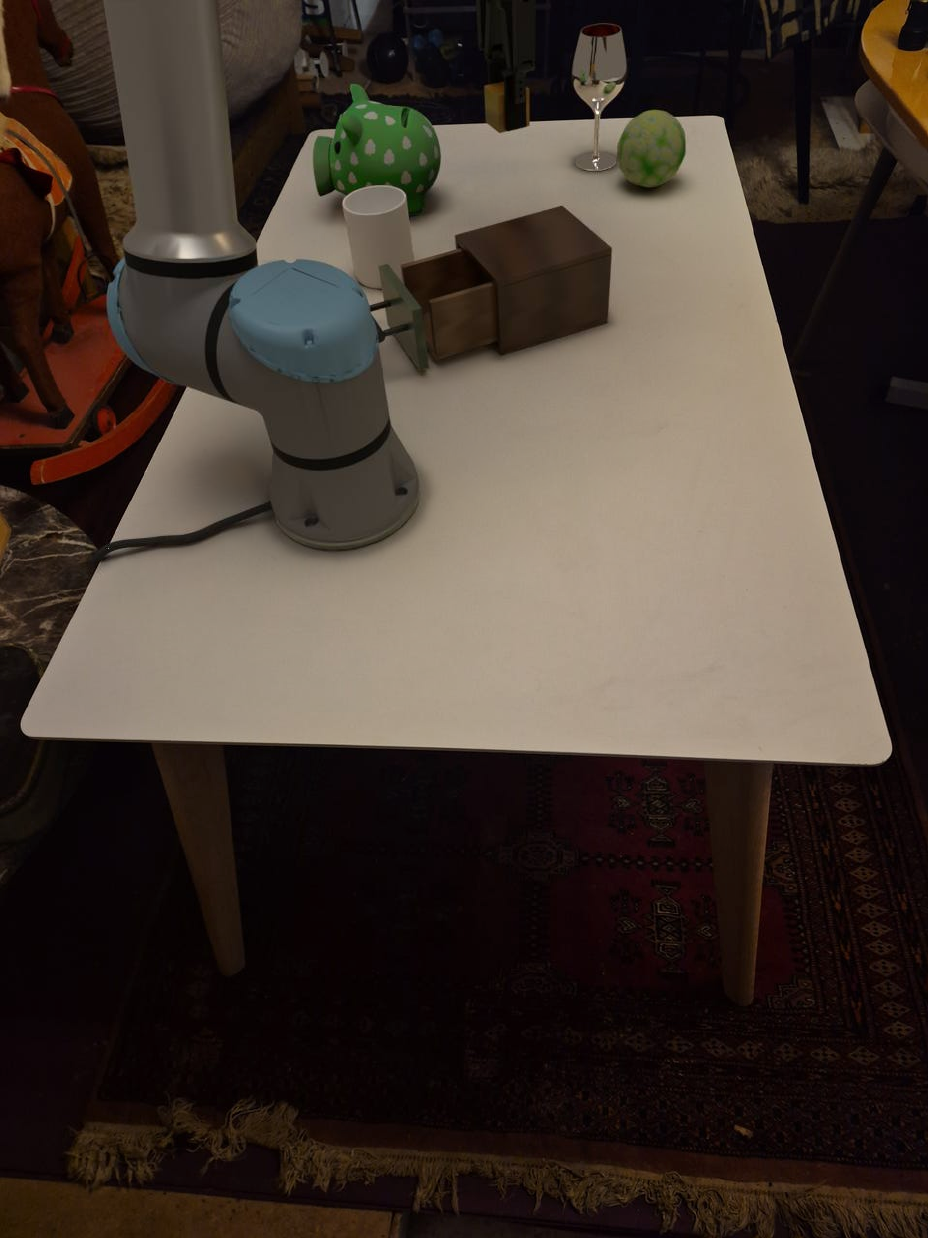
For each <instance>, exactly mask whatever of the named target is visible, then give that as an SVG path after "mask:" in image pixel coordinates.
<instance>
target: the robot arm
mask: <svg viewBox="0 0 928 1238" xmlns="http://www.w3.org/2000/svg"><path fill="white" fill-rule="evenodd" d="M102 2H103V7H104V13H105V21H106V27H107V33H108V40H109V41H108V42H109V46H110V53H111V60H112V66H113V72H114V79H115V86H116V92H117V98H118V105H119V110H120V111H119V112H120V118H121V125H122V131H123V137H124V144H125V145H124V146H125V151H126V158H127V164H128V165H127V166H128V170H129V177H130V183H131V191H132V197H133V203H134V209H135V216H136V217H135V218H136V221H135V223H134V225H133V226H132V227H131V228H130V230H129V231H128V233H127V234H126V235H124V237H123V239H122V249H123V256H124V257H122V258H121V260H120V261H119V262H118V263H117V264H116V266H115V268H114V270H113V271H112V274H113V276H114V279H113V281H111V282H109V283H108V287H107V291H106V313H107V318H108V322H109V323H108V324H109V326H110V329H111V331H112V335H113V336H114V339H115V341H116V342H117V345H118V346H119V347H120V350H122V352H123V353H124V354H125V355H126V356H127V358H128V359H129V360H131V361H132V363H133V364H135V365H136V366H138V367H139V368H141V369H142V370H144V371H145V372H148V373H150V374H152V375H154V376H156V377H158V378H160V379H162V380H163V381H164V382H167V383H169V384H171V385H174V386H178V387H187V388H189V389H192V390H195V391H197V392H200V393H204V394H207V395H209V396H211V397H215V398H218V399H221V400H223V401H226V402H230V403H233V404H236V405H239V406H241V407H245V408H246V409H247V408H248V409H250V410H253V411H256V412H257V413H258V414H259V415H260V416H261V417H262V419H263V420H262V421H263V423H264V426H265V430H266V433H267V435H268V439H269V442H270V445H271V448H272V460H271V471H270V482H269V499H270V500H269V501H267V502H263V503H260V504H258V505H256V506H253V507H250V508H248V509H245V510H243V511H239V512H238V513H235V514H233V515H230V516H227V517H225V518H222V519H221V520H218V521H215V522H213V523H212V524H209V525H207V526H204V527H203V528H201V529H197V530H195V531H192V532H188V533H184V534H168V535H157V536H150V537H138V538H137V537H136V538H127V539H126V538H125V539H119V540H115V541H111V542H109V543H107V544H105V545H104V546H102V547H100V548H99V549H98V550H97V551H96V552H95V553H94V554H93V557H92V558H91V563H92V564H99V563H100V562H102V561H103V560H104V558H106V556H107V555H109V554H110V553H113V552H115V551H118V550H124V549H131V548H145V547H153V546H161V545H179V544H186V543H191V542H195V541H198V540H201V539H203V538H206V537H208V536H209V535H212V534H214V533H217V532H218V531H221V530H223V529H226V528H228V527H230V526H233V525H235V524H238V523H240V522H244V521H245V520H248V519H251V518H253V517H256V516H258V515H261V514H264V513H266V512H269V511H271V510H272V513H273V516H274V520H275V522H276V524H277V525H278V527H279V528H280V530H281V531H282V532H283V533H284V534H285V535H286V536H288V538H290V539H292V540H293V541H295V542H297V543H299V544H301V545H304V546H307V547H310V548H314V549H319V550H331V551H335V550H336V551H337V550H338V551H339V550H350V549H355V548H360V547H364V546H367V545H370V544H373V543H375V542H378V541H380V540H382V539H384V538H386V537H387V536H390V535H392V534H394V533H395V532H396V531H397V530H399V529H400V528H401V527H402V526H403V525H404V524H405V523H406V522H407V521H408V520H409V519H410V518H411V516H412V515H413V513H414V512H415V510H416V508H417V506H418V504H419V499H420V495H421V488H420V481H419V474H418V472H417V469H416V466H415V462H414V461H413V458H412V457H411V456H410V454H409V452H408V450H407V449H406V447H405V446H404V444H403V442H402V441H401V439H400V438H399V435H398V434H397V433H396V431H395V429H394V427H393V426H392V422H391V417H390V411H389V404H388V398H387V391H386V383H385V378H384V371H383V364H382V357H381V352H380V346H379V345H380V343H379V342H378V333H377V330H376V324H375V322H374V320H373V318H372V316H373V314H372V312H371V310H370V306H369V305H370V303H369V300H368V298H367V294H366V292H365V291H364V289H363V288H362V286H361V285H360V284H359V282H357V280H356V279H354V278H353V277H352V276H351V275H350V274H348V273H347V272H346V271H344V270H342V269H341V268H339V267H336V266H334V265H331V264H329V263H326V262H322V261H318V260H313V259H304V258H296V259H295V260H294V261H292V262H288V261H287V260H285V259H279V260H275V261H270V262H266V263H264V264H263V263H262V264H260V265H259V260H258V247H257V241H256V239H255V237H254V236H252V235H251V234H250V233H249V231H248V230H246V229H245V228H244V227H243V226H242V225H241V224H240V222H239V220H238V210H237V199H236V188H235V177H234V166H233V165H234V164H233V153H232V145H231V143H232V142H231V132H230V121H229V120H230V119H229V109H228V99H227V98H228V97H227V86H226V75H225V65H224V64H225V63H224V53H223V40H222V27H221V19H220V6H219V5H220V4H219V0H103V1H102ZM475 8H476V23H477V24H476V27H477V43H478V45H477V46H478V49H479V50H480V51H484V52H483V55H484V58H485V61H487V62H486V64H487V66H486V67H487V85H490V84H495V83H499V82H503V81H504V96H505V130H506V132H511V131H516V130H521V129H524V128H527V127H528V126H527V121H526V87H527V73H529V72H532V71H535V69H536V0H475ZM371 314H372V315H371ZM108 548H109V549H108Z"/></svg>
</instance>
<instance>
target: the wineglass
mask: <svg viewBox="0 0 928 1238" xmlns="http://www.w3.org/2000/svg"><path fill="white" fill-rule="evenodd" d="M622 30H623V29H622V28H621V27H620V26H619V25H617V24H613V23H595V24H590V25H587V26H585V27H583V28H582V29H580V33H579V36H578V40H577V45H576V49H575V52H574V58H573V61H572V65H571V66H572V67H571V71H570V72H571V74H570V75H571V76H570V78H571V79H570V80H571V84H572V87H573V89H574V91H575V93H576V94H577V95H578V97H579V98H580V99H581V100H582V101H583V102H584V103H585V104H587V105H588V106H589V107H590V108H591V110H592V112H593V113H594V131H593V150H592V152H588V153H585V154H582V155H580V156H578V157H577V158H576V160H575V166H576V167H577V168H578V169H580V170H583V171H586V172H601V171H606V170H609V169H612V168H613V167H614V166H615V165H616V164H617V157H615V156H614V155H613V154H610V153H607V152H600V126H601V115H602V112H603V111H604V109H605V108H606V107H607V105H608V104H609V103H610V102H612V101H613V100H614V99H615V98H616V97H617V96H618V95H619V94H620V92H621V91H622V89H623V88H624V86H625V85H626V81H627V79H628V60H627V54H626V47H625V42H624V36H623V31H622Z"/></svg>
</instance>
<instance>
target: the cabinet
mask: <svg viewBox="0 0 928 1238" xmlns="http://www.w3.org/2000/svg"><path fill="white" fill-rule="evenodd" d="M454 241H455V242H454V243H455V250H456V249H459V248H462V249H463V250H464V251H465V252H466V253H467V254H468V255H469V257H470V258H471V259H472V260H473V261H474V262H475V263H476V264H477V265H478V266H479V268H480V269H481V270H482V271H483V272H484V273H485V274H486V275H487V276H488V277H489V278H490V280H491V281H492V282H493V283H494V284H495V296H496V316H497V336H498V341H497V342H493V343H490V345H491V346H492V347H493V348H494V349H495V350H496V352H497V353H498V354H499V355H500V356H505V355H508V354H512V353H514V352H517V351H520V350H521V351H522V350H524V349H527V348H531V347H533V346H537V345H540V344H544V343H547V342H550V341H553V340H557V339H560V338H563V337H566V336H569V335H572V334H576V333H579V332H582V331H585V330H589V329H593V328H595V327H599V326H601V325H605V324H607V323H608V322H609V309H610V293H611V292H610V289H611V277H612V276H611V275H612V274H611V273H612V259H613V247H612V246H610V245H609V244H608V243H607V242H606V241H604V239H602V238H601V237H600V236H599V235H598V234H596V232H594V231H593V230H592V229H590V228H589V227H588V226H587V225H586V224H585V223H584V222H582V220H581V219H579V218H578V217H577V216H576V215H574V214H573V213H572V212H571V211H569V209H567V208H566V207H565V206H564V205H559V206H555V207H551V208H548V209H543V210H540V211H536V212H534V213H533V212H532V213H529V214H526V215H523V216H518V217H515V218H511V219H508V220H504V221H500V222H497V223H493V224H490V225H489V224H488V225H486V226H483V227H479V228H476V229H472V230H468V231H464V232H460V233H457V234H454Z"/></svg>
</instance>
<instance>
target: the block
mask: <svg viewBox="0 0 928 1238" xmlns="http://www.w3.org/2000/svg"><path fill="white" fill-rule="evenodd" d="M483 88H484V91H483V92H484V109H485V110H484V112H485V123H486V124H487V125H488V126H490V127H491V128H492V129H493V130H495V131H496V132H497V133H499V134H502V133H506V132H507V131H506V130H505V96H504V81H503V82H499V83H495V84H490V85H488V84H486V85H484V86H483ZM530 120H531V119H530V88H528V86H526V121H527V127H530V126H531V125H530Z"/></svg>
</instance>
